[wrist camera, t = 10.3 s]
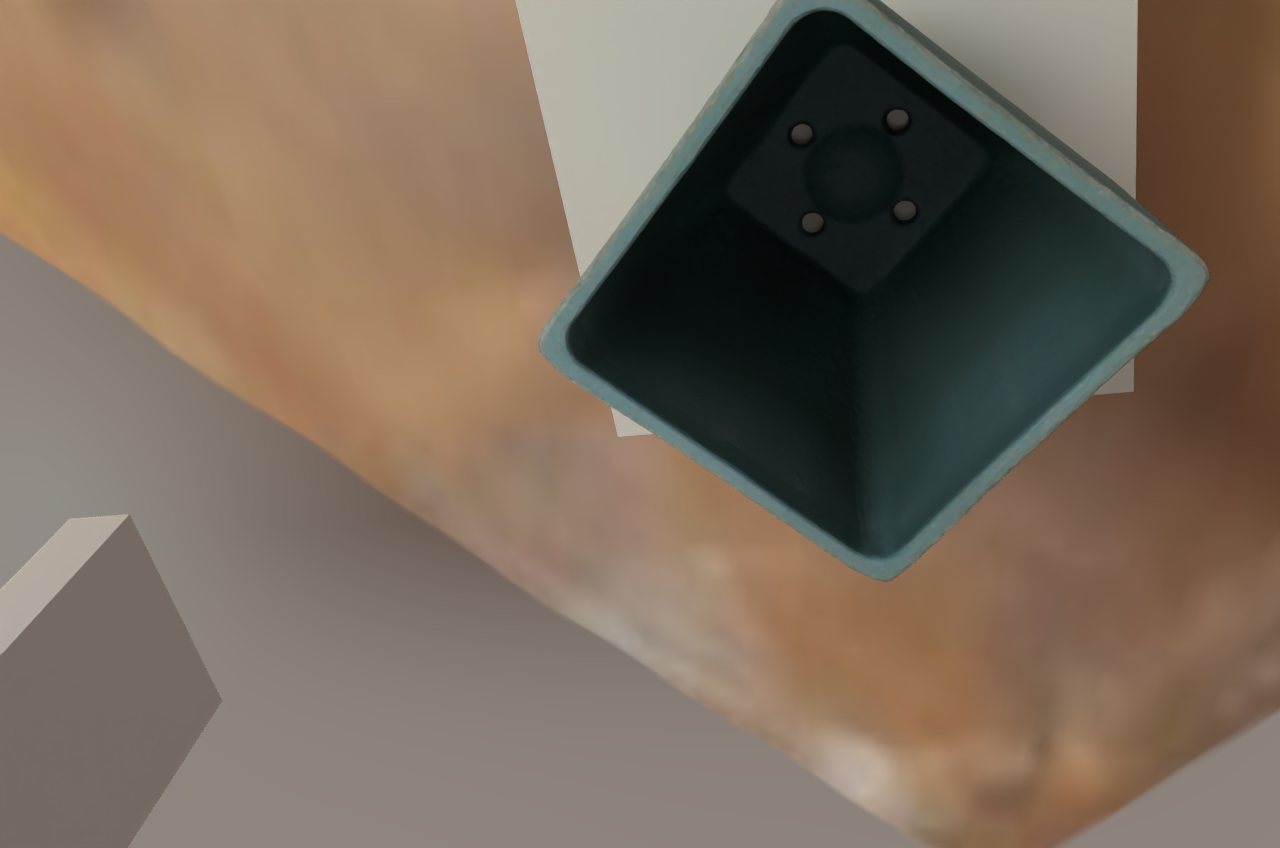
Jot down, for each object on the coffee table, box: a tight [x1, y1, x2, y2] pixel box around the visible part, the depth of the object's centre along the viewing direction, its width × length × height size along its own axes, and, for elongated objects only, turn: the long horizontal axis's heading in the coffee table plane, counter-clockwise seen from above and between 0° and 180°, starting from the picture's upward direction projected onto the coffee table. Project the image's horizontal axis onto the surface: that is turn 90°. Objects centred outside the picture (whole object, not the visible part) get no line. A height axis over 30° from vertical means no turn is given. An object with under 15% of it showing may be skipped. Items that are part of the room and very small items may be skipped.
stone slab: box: [515, 0, 1138, 437], centre depth 31 cm, size 14×14×6 cm
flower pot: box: [539, 0, 1210, 582], centre depth 25 cm, size 9×9×9 cm
